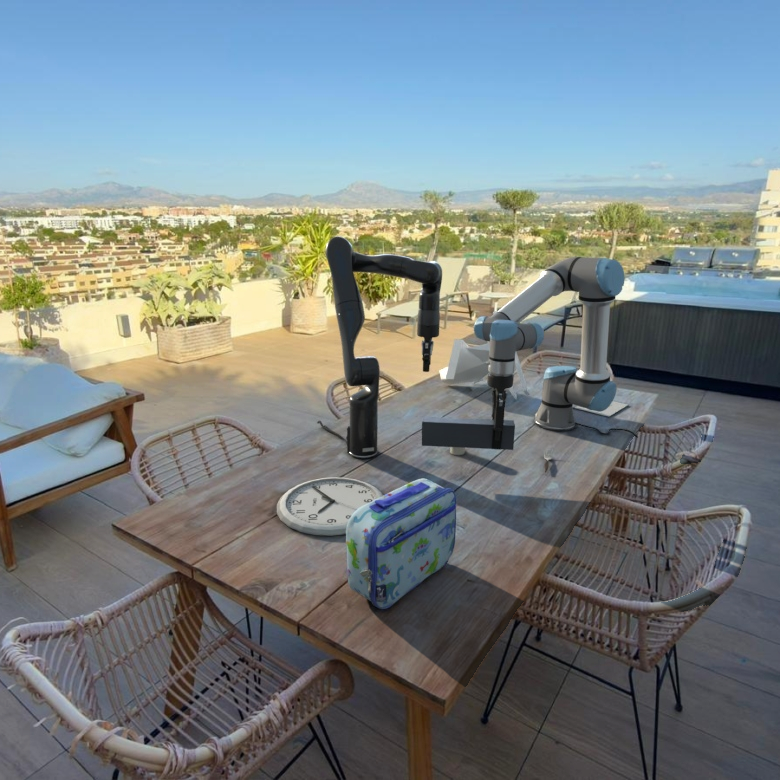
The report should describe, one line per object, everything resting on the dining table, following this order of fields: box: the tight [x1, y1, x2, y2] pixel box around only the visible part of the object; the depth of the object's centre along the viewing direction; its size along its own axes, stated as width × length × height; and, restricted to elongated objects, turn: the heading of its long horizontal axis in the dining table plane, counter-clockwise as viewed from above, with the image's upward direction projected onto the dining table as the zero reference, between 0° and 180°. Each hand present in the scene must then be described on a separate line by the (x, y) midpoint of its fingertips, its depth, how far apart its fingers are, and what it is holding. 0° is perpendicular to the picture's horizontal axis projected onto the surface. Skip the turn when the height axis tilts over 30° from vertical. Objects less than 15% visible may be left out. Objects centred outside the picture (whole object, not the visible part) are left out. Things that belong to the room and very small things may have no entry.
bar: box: [421, 416, 516, 451], centre depth 162 cm, size 28×4×8 cm, turn 83°
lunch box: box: [345, 477, 457, 610], centre depth 110 cm, size 26×11×21 cm, turn 134°
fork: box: [543, 448, 554, 473], centre depth 170 cm, size 3×16×2 cm, turn 160°
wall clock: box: [276, 476, 385, 537], centre depth 142 cm, size 30×2×30 cm
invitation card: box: [573, 400, 629, 418], centre depth 226 cm, size 21×1×15 cm
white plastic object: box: [438, 310, 531, 400], centre depth 245 cm, size 37×45×31 cm
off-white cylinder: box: [449, 447, 466, 456], centre depth 177 cm, size 5×5×6 cm
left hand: (426, 368), depth 182 cm, fingers open, 8 cm apart
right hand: (495, 445), depth 162 cm, fingers closed on bar, 4 cm apart
